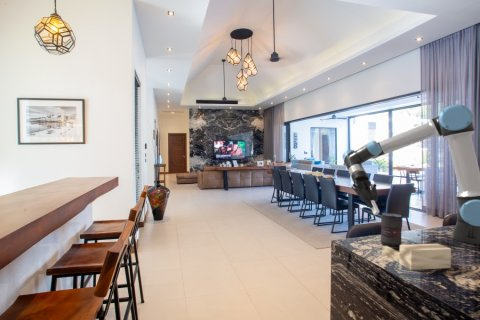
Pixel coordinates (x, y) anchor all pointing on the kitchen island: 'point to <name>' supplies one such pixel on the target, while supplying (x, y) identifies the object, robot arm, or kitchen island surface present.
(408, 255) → the cradle
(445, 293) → the kitchen island surface
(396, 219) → the camera lens
